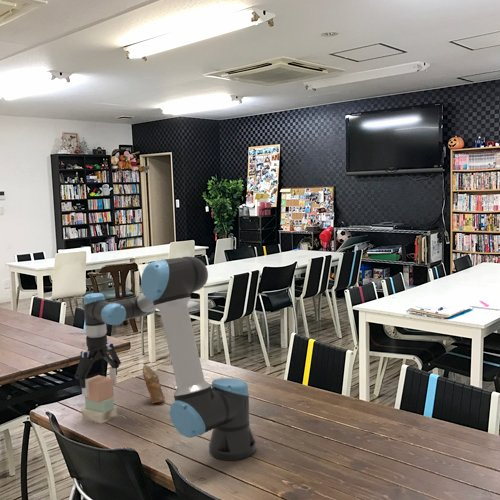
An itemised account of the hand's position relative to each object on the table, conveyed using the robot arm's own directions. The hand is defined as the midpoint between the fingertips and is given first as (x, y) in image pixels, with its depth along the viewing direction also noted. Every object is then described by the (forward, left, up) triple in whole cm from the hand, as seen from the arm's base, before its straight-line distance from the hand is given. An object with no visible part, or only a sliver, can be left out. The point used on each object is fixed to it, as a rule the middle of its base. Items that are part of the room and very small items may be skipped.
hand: (99, 390), depth 217 cm
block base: (-1, +1, -11) cm, 11 cm away
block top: (-1, +1, -7) cm, 7 cm away
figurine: (+4, -22, -10) cm, 25 cm away
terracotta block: (0, 0, -3) cm, 3 cm away
